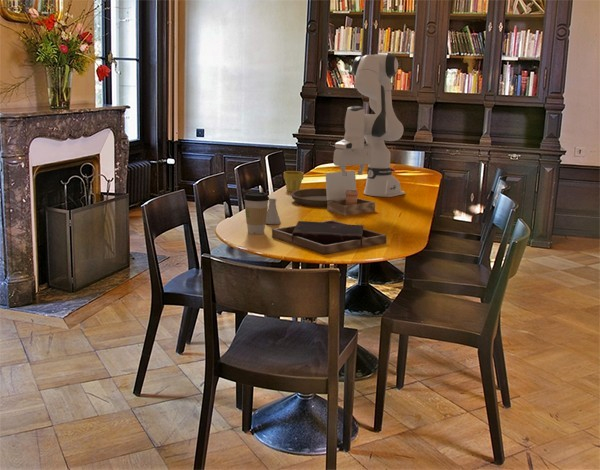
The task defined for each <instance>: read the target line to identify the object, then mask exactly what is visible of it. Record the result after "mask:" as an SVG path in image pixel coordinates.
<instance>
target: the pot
mask: <svg viewBox="0 0 600 470" xmlns="http://www.w3.org/2000/svg"><path fill="white" fill-rule="evenodd" d="M345 195H346V206H347V205H354V204H357V198H358V196H359V191H358V190H357V189H356V190H346V191H345Z"/></svg>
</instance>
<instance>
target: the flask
mask: <svg viewBox="0 0 600 470" xmlns="http://www.w3.org/2000/svg"><path fill="white" fill-rule="evenodd" d="M276 202H277V199H276V198H269V200H268V209H267V216H266V224H265V225H271V226H272V225H280V224H281V223H282V222H281V219H280V216H279V212H278V209H277V205H276Z"/></svg>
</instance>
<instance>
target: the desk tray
mask: <svg viewBox="0 0 600 470" xmlns="http://www.w3.org/2000/svg"><path fill="white" fill-rule="evenodd" d="M321 222H322V223H330V224H346V222H345V223H344V222H340V221H337V220H334V219H330V220H324V221H321ZM295 226H296V225H290V226H283V227H277V228H272V229H271V238H274V239H277V240H280V241H282V242H286V243H289V244H292V245H294V246H297V247H300V248H304V249H307V250H310V251H312V252H314V253H317V254H321V255H325V256H326V255H330V254H334V253H341V252H345V251H351V250H356V249H363V248H367V247H373V246H378V245H383V244H386V243H387V236H388V235H387V234H383V233H380V232H376V231H373V230H370V229H366V228H363V234H362V235H363V238H362V247H361V240H351V241H346V242H340V243H335V244H329V245H328V244H320V243H317V242H314V241H310V240H307V239H304V238H301V237H298V236H293V242H292V233H293V231H294V229H295Z"/></svg>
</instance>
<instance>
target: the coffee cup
mask: <svg viewBox="0 0 600 470" xmlns="http://www.w3.org/2000/svg"><path fill="white" fill-rule="evenodd" d="M269 199H270V197H269V195H268V193H267V192H263V191H262V192H261V191H249V192H246V193H245V194H244V196H243V199H242V200H244V211H245V212H244V213H245V220H246V228H247V234H249V235H262V234H264V233H265V228H266V227H265V226H266V225H267V224H266V216H267V211H268V208H269Z"/></svg>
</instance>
